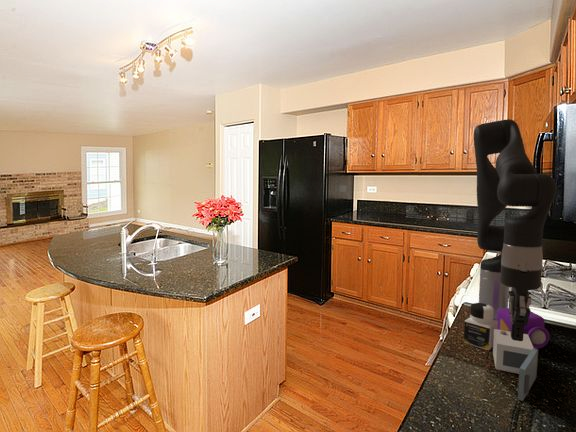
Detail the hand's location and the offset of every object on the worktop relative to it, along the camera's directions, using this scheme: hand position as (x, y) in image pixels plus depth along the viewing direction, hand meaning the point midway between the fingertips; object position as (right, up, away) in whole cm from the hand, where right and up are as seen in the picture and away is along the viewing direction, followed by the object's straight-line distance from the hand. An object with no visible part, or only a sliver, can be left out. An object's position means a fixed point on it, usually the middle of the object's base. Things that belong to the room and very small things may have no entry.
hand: (516, 339), depth 77 cm
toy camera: (+19, -11, +26) cm, 34 cm away
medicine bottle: (+7, -11, +27) cm, 30 cm away
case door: (+5, -13, +3) cm, 14 cm away
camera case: (+8, -12, +15) cm, 21 cm away
